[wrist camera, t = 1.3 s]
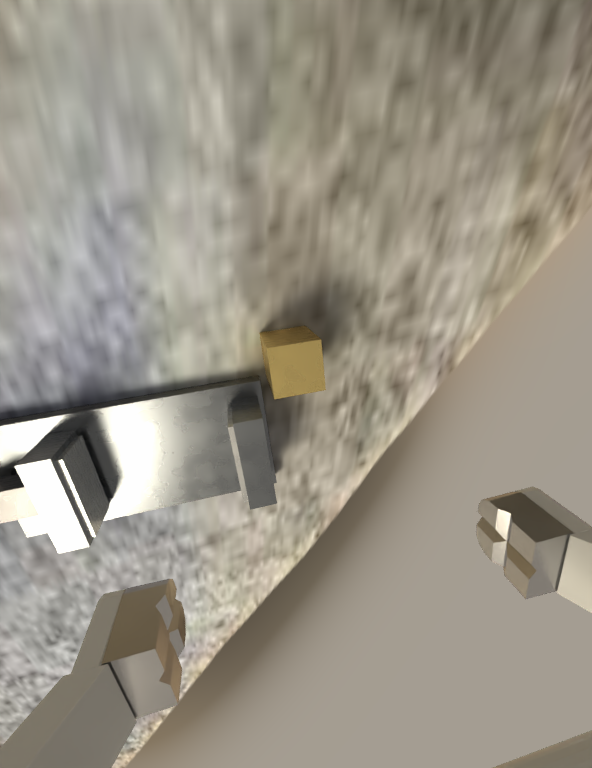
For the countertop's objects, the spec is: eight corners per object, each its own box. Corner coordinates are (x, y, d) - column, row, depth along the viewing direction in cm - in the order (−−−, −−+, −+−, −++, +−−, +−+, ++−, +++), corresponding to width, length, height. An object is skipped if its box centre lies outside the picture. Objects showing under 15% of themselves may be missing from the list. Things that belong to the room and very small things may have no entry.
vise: (-18, 423, 30) (-78, 464, 24) (258, 375, 34) (265, 401, 28) (35, 526, 35) (-5, 582, 29) (274, 474, 38) (284, 514, 32)
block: (259, 332, 32) (266, 348, 27) (305, 325, 33) (321, 339, 28) (266, 376, 34) (274, 399, 29) (309, 368, 35) (325, 390, 29)
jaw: (-48, 451, 29) (-99, 487, 25) (82, 427, 31) (56, 457, 26) (-2, 531, 32) (-40, 576, 28) (113, 506, 34) (95, 545, 29)
